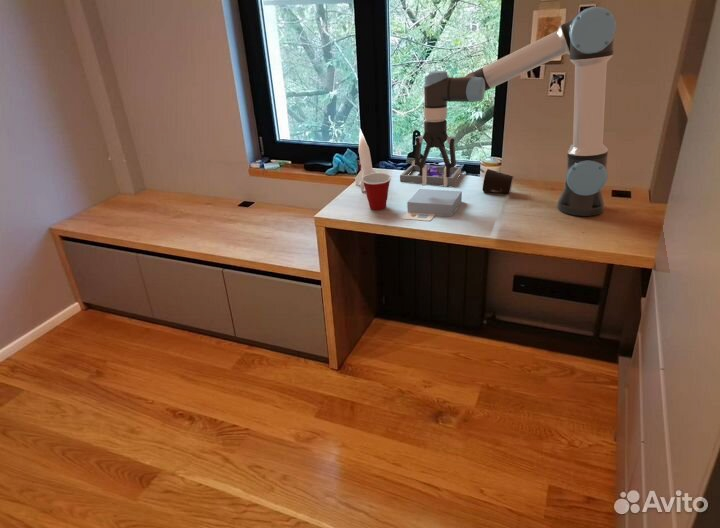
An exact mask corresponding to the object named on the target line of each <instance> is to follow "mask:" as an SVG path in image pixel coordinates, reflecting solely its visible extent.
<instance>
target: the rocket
mask: <svg viewBox="0 0 720 528" xmlns="http://www.w3.org/2000/svg"><path fill="white" fill-rule="evenodd" d="M358 139H359V140H358V151H357V152H358V154H359V156H358V157H359V162H360V167H361V169H360V171H359V172H358V173H357V174H356V177H355V178H354V181H355V185H358V186H359V185H360V191H361V192H364V189H365V186H364V183H363V181H362V177H363V176H365V175H368V174H372V173H377V172H376V170H374V169H373V165H372V164H373V163H372V157H371V152H370V148H369V145H368V143H367V141H366V138H365V136H364V133H363V131H362V129H361V128H359V137H358Z"/></svg>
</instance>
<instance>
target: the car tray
mask: <svg viewBox="0 0 720 528" xmlns="http://www.w3.org/2000/svg"><path fill="white" fill-rule="evenodd" d="M433 167H437V170H438V173H440V174H444V168H445V167H446V166H445V165H444V166H443V165H441V166H440V165H430V168H431V169H432V168H433ZM413 171H416V172H419V166H416V165H415V164H411V165H410V166H409V167H408V168H407V169H405V170H404V171H403V172H402V173H401V174H400V175H399V182H400V181H402V182H401V183H409V182H414V183H413V184H419V183H422V176H417V175H410V174H411V173H412V172H413ZM410 172H411V173H410ZM409 173H410V174H409ZM451 173H452V176H451V177H448V178H447V186H446V187H449V186H453V187H454V185H455V184H456V182H457V181H458V179H459V178H458V176H459V175H460V176H461V175H462V166H454V167H451ZM408 174H409V175H408ZM460 176H459V177H460ZM457 178H458V179H457ZM456 180H457V181H456ZM455 181H456V182H455ZM454 183H455V184H454ZM429 184H434V185H433V186H439V185H443V186H442V187H444V177H435V176H426V185H429Z"/></svg>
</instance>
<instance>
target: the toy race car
mask: <svg viewBox="0 0 720 528" xmlns="http://www.w3.org/2000/svg"><path fill="white" fill-rule="evenodd" d="M424 166H427V173H426V176H435V177H444V173H438V170H437V167H433V168H432V169H431V168H430V166H431V165H430V164H427V163H425V165H424ZM452 175H453V174H452V173H451V172H450V177H451V176H452ZM416 176H420V167H419V171H418V174H417V175H416Z"/></svg>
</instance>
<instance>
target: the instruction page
mask: <svg viewBox="0 0 720 528" xmlns="http://www.w3.org/2000/svg"><path fill="white" fill-rule="evenodd" d="M435 216H436V215H435V214H424V213H411V212H408V211H407V212H406V214H404V216H403V217H402V218H401V219H402V220H411V221H420V222H421V221H423V222H424V221H425V222H431V221H432V220H433V218H434V217H435Z"/></svg>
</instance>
